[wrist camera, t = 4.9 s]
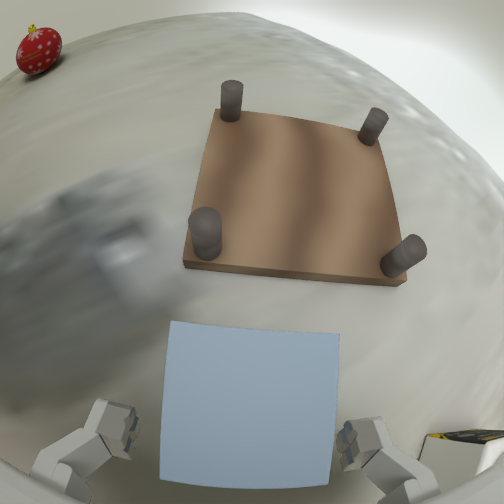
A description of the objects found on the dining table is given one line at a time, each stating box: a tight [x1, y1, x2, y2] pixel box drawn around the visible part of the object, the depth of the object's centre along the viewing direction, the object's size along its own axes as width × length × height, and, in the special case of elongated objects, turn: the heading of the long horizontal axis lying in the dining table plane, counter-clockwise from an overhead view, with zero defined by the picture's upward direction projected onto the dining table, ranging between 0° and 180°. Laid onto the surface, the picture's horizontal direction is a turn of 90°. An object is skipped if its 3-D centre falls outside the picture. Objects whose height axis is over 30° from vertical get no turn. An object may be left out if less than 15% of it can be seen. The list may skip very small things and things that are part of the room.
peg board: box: [182, 80, 427, 287], centre depth 20 cm, size 16×15×5 cm
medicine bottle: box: [419, 429, 504, 493], centre depth 8 cm, size 7×7×12 cm
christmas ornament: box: [16, 25, 62, 74], centre depth 25 cm, size 9×9×10 cm
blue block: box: [160, 321, 340, 489], centre depth 11 cm, size 4×4×11 cm
